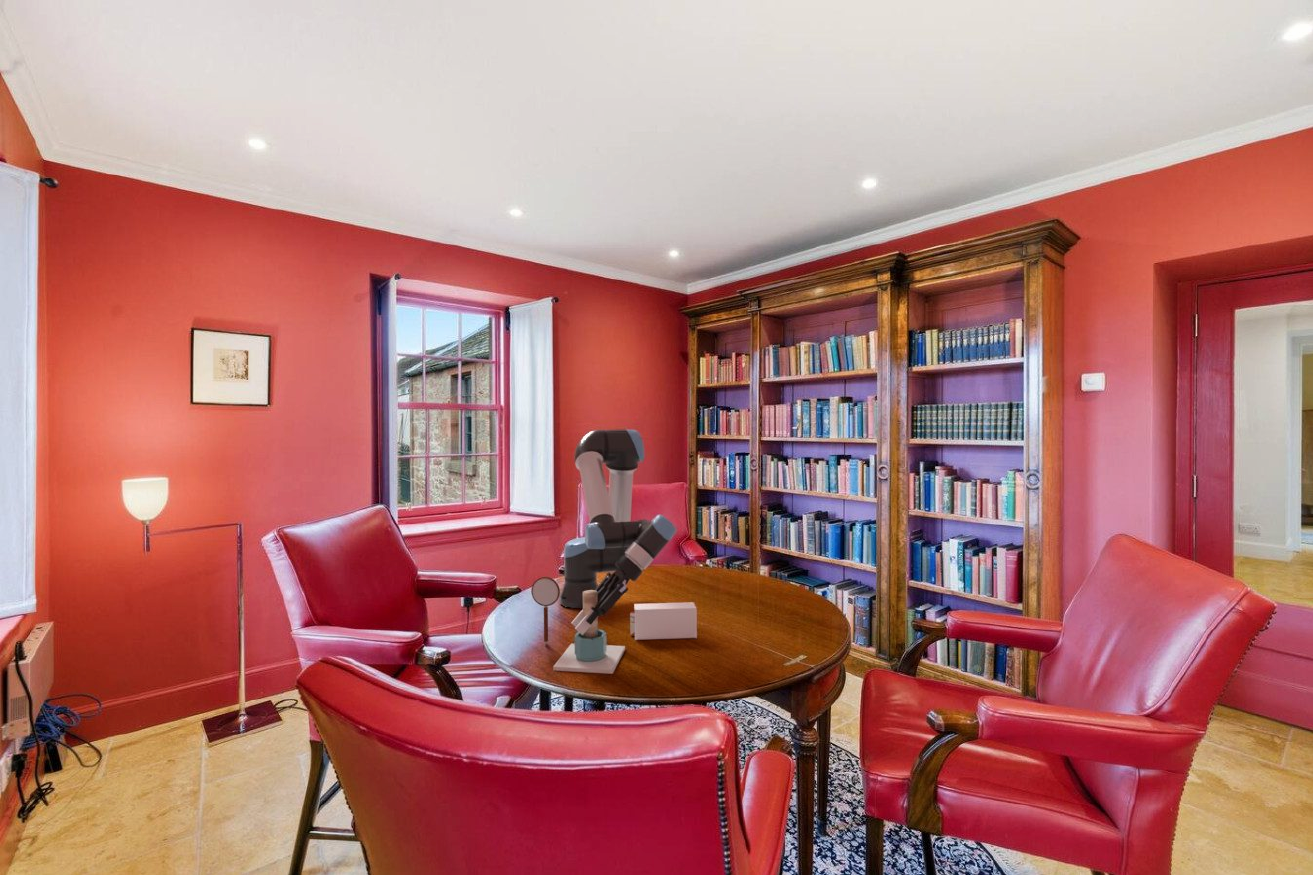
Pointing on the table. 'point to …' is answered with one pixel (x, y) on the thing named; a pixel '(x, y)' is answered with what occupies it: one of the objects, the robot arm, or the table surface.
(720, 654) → the table surface
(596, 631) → the pillar candle on dish
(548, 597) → the magnifying glass
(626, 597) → the table surface
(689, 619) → the cigarette display
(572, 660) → the octagonal cup on tile
